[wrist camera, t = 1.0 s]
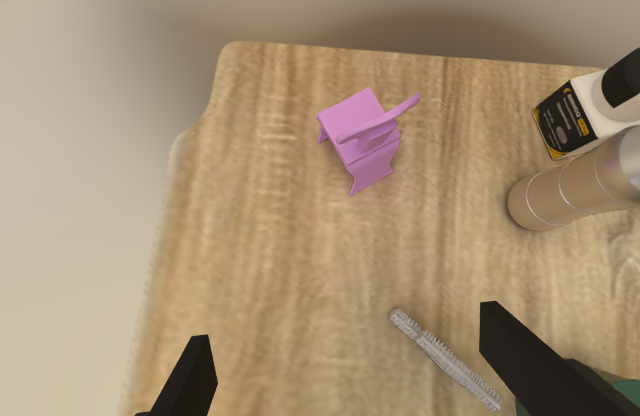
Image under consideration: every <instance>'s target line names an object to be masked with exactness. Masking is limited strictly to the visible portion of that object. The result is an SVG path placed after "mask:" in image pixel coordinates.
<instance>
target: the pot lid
mask: <svg viewBox="0 0 640 416" xmlns="http://www.w3.org/2000/svg"><path fill="white" fill-rule="evenodd" d="M608 383H609V384H611V385H612V386H613V387H614V388H615V390H618V391H619V392H620V393H622V394H623V395H624V396H625V397H627V398H628V399H629V400H630V401H631V402H633V403H634V404H635V405H636V406H638V407H639V408H640V380H637V379H618V380H614V381H610V382H608Z"/></svg>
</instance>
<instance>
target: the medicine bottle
mask: <svg viewBox="0 0 640 416" xmlns="http://www.w3.org/2000/svg"><path fill="white" fill-rule="evenodd" d="M532 114H533V116H534V119H535V121H536V123H537V125H538V128H539V130H540V132H541V134H542V136H543V139H544V141H545V143H546V145H547V148H548V150H549V152H550V154H551V157H552V159H553V160H558V159H562V158H566V157H570V156H573V155H577V154H581V153H584V152H588V151H590V150H592V149H593V148H594V147H596V146H597V145H599V144H600V143H602V142H603V141H605V140H606V139H608V138H609V137H611V136H612V135H614V134H615V133H617V132H619V131H621V130H622V129H624V128H627V127H630V126H633V125H638V124H640V48H637V49H635V50H634V51H632V52H631V53H630V54H629V55H627V56H626V57H624V58H623V59H621V60H620V61H619V62H617V63H616V64H615V65H613V66H612V67H610V68H609V69H606V70H602V71H598V72H594V73H590V74H587V75H583V76H579V77H575V78H572V79H570V80H569V81H568V82H567V83H565V84H564V85H563V86H562V87H560V88H559V89H558V90H557V91H555V92H554V93H553V94H552V95H550V96H549V97H548V98H547V99H545V100H544V101H543V102H541V103H540V104H539V105H538V106H536V107H535V108H534V109H533V110H532Z"/></svg>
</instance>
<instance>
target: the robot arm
mask: <svg viewBox="0 0 640 416" xmlns="http://www.w3.org/2000/svg"><path fill="white" fill-rule="evenodd" d="M479 352H480V353H481V355H482V356H483V357H484V358H485V360H486V361H487V362H488V363H489V364H490V366H491V367H492V368H493V369H494V371H495V372H496V373H497V374H498V376H499V377H500V378H501V379H502V381H503V382H504V383H505V384H506V385H507V387H508V388H509V389H510V390H511V392H512V393H513V394H514V395H515V397H516V398H517V399H518V400H519V402H520V403H521V404H522V405H523V407H524V408H525V409H526V410H527V411H528V413H529V414H530V415H531V416H640V408H639V407H638V406H636V405H635V404H634V403H633V402H631V401H630V400H629V399H628V398H627V397H625V396H624V395H623V394H622V393H620V392H619V391H618V390H615V388H614V387H613V386H612V385H611V384H609V383H608V382H607V381H604V380H603V378H602V377H601V376H600V375H598V374H597V373H596V372H595V371H593V370H592V369H591V368H590V367H588V366H586V365H584V364H582V363H580V362H578V361H577V360H575V359H566V360H564V359H562V358H561V357H560V356H559V355H558V354H557V353H556V352H554V351H553V350H552V349H551V348H550V347H549V346H547V345H546V344H545V343H544V342H543V341H542V340H541V339H539V338H538V337H537V336H536V335H535V334H534V333H532V332H531V331H530V330H529V329H528V328H527V327H526V326H524V325H523V324H522V323H521V322H520V321H519V320H517V319H516V318H515V317H514V316H513V315H512V314H511V313H509V312H508V311H507V310H506V309H505V308H504V307H502V306H501V305H500V304H499V303H498V302H497V301H489V302H481V303H480V341H479ZM217 385H218V381H217V376H216V371H215V366H214V361H213V356H212V352H211V347H210V342H209V337H208V334H207V335H198V336H192V337H191V338H190V340H189V342H188V344H187V346H186V348H185V349H184V351H183V353H182V355H181V357H180V358H179V360H178V362H177V364H176V366H175V367H174V369H173V371H172V373H171V375H170V377H169V378H168V380H167V382H166V384H165V386H164V387H163V389H162V391H161V393H160V395H159V397H158V398H157V400H156V402H155V404H154V406H153V407H152V409H151V411H149V412H141V413H137V414H136V415H135V416H207V414H208V411H209V408H210V405H211V402H212V399H213V397H214V394H215V391H216V388H217Z"/></svg>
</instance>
